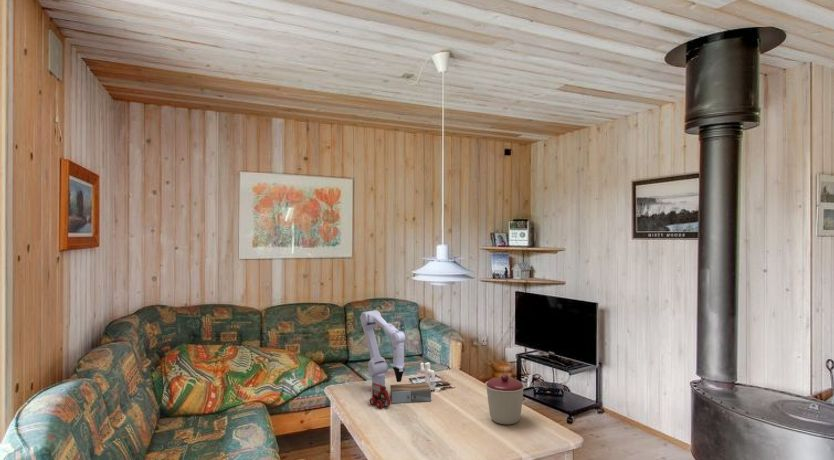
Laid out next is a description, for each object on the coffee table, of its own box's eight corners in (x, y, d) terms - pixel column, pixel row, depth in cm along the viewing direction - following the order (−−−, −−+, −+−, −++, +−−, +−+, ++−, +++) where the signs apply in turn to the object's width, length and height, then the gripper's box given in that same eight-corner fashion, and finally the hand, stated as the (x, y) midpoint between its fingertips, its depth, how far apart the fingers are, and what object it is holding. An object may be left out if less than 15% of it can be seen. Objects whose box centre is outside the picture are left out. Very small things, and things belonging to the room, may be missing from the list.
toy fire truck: (383, 411, 227) (382, 389, 227) (367, 404, 236) (367, 384, 236) (393, 407, 232) (393, 386, 232) (377, 400, 240) (377, 380, 240)
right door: (391, 402, 237) (391, 391, 237) (411, 401, 238) (410, 390, 238) (392, 404, 235) (392, 393, 235) (411, 402, 236) (411, 391, 236)
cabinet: (390, 396, 247) (390, 384, 247) (427, 393, 250) (427, 382, 250) (392, 404, 235) (392, 392, 235) (431, 402, 238) (431, 390, 238)
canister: (478, 415, 220) (478, 371, 220) (512, 410, 226) (511, 367, 226) (497, 431, 203) (496, 382, 203) (533, 425, 208) (532, 378, 209)
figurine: (430, 393, 250) (430, 365, 250) (416, 390, 256) (416, 362, 256) (438, 390, 256) (438, 362, 256) (425, 386, 262) (424, 360, 262)
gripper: (388, 352, 248) (388, 377, 248) (393, 359, 234) (393, 386, 234) (401, 351, 250) (401, 376, 250) (407, 358, 235) (407, 385, 235)
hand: (398, 381), depth 242 cm, fingers closed
